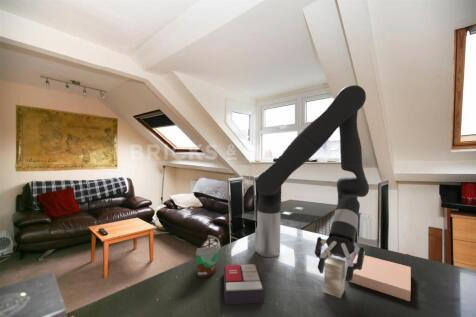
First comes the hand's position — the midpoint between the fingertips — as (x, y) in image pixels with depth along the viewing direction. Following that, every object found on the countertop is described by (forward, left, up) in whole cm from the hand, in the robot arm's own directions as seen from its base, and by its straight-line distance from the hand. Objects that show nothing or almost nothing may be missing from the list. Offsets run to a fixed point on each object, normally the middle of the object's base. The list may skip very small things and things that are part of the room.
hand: (333, 276), depth 67 cm
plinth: (+10, +17, -5) cm, 20 cm away
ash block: (0, +1, -5) cm, 5 cm away
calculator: (-23, -14, -6) cm, 27 cm away
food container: (-37, -13, -5) cm, 40 cm away
